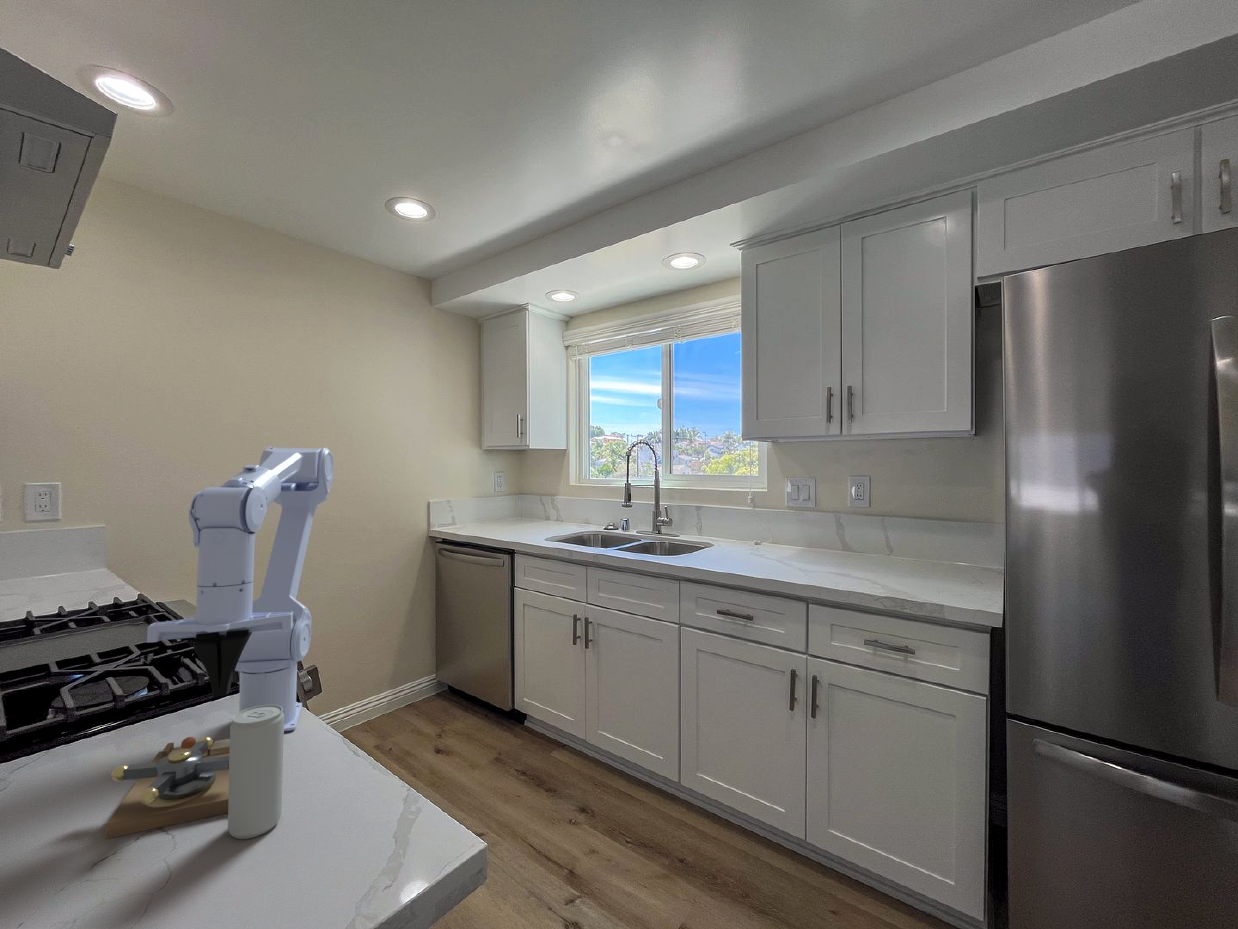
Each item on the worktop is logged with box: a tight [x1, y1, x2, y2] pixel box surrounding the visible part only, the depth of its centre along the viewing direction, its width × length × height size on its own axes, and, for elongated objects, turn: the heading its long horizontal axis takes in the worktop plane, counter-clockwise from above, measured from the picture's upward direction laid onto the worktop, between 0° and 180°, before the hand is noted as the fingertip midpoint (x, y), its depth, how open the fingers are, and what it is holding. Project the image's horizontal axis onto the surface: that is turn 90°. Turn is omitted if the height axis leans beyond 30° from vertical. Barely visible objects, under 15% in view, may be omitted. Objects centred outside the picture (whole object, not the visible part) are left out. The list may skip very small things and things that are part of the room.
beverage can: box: [227, 705, 285, 840], centre depth 58 cm, size 5×5×12 cm
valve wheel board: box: [104, 736, 230, 839], centre depth 65 cm, size 16×12×4 cm
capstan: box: [111, 736, 229, 805], centre depth 61 cm, size 13×13×4 cm
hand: (221, 693), depth 67 cm, fingers closed
